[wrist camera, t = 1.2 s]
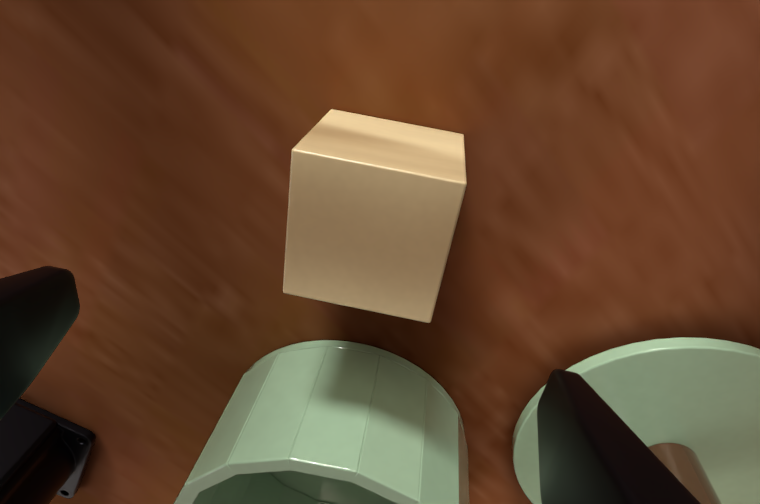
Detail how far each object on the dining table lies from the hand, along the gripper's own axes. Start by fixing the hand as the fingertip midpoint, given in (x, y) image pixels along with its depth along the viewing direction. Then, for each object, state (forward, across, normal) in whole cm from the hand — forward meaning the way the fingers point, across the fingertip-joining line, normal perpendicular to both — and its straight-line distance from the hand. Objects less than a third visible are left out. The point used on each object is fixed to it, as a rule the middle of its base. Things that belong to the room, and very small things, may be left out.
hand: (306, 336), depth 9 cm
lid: (+8, -14, +9) cm, 18 cm away
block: (+9, 0, 0) cm, 9 cm away
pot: (+9, 0, +13) cm, 16 cm away
